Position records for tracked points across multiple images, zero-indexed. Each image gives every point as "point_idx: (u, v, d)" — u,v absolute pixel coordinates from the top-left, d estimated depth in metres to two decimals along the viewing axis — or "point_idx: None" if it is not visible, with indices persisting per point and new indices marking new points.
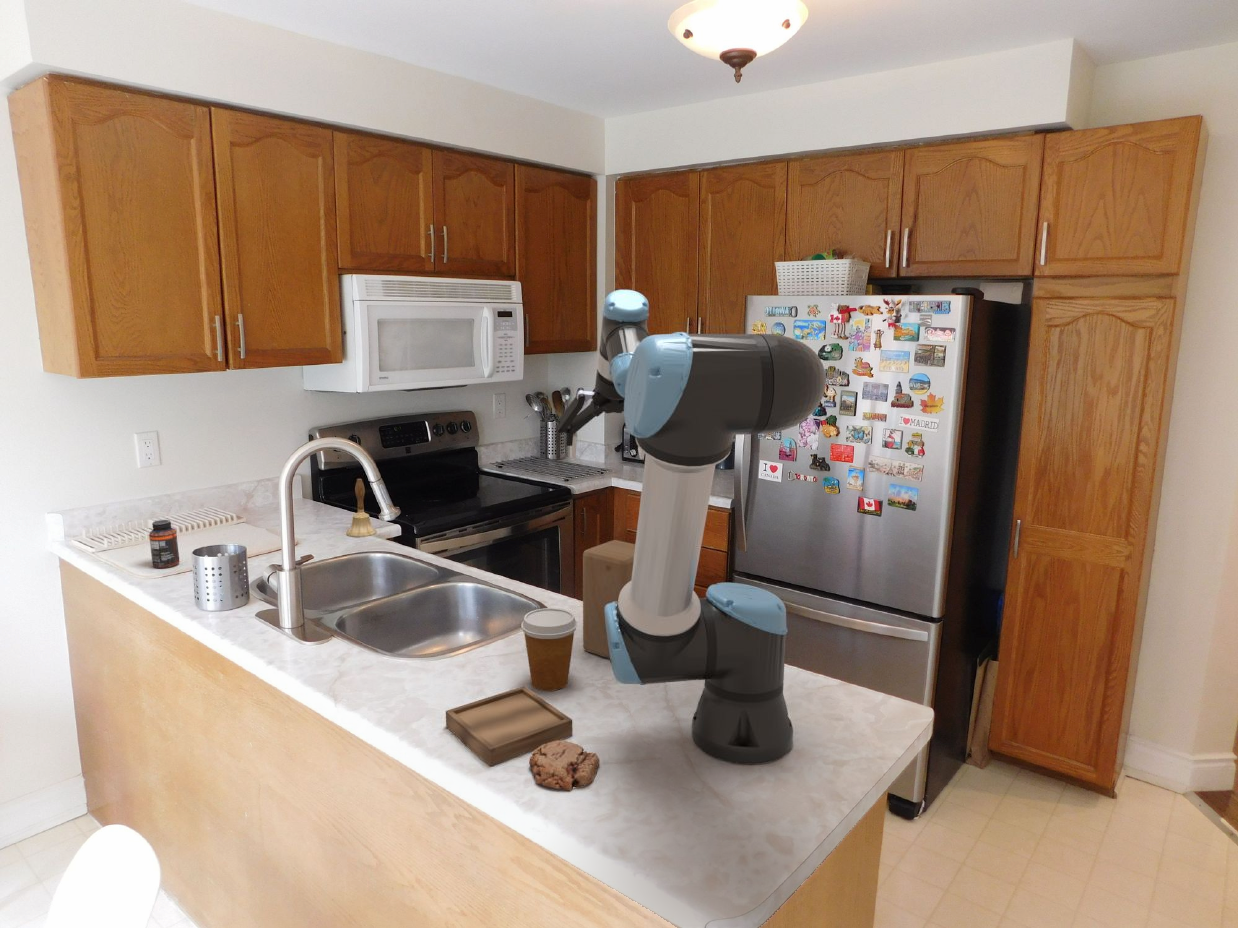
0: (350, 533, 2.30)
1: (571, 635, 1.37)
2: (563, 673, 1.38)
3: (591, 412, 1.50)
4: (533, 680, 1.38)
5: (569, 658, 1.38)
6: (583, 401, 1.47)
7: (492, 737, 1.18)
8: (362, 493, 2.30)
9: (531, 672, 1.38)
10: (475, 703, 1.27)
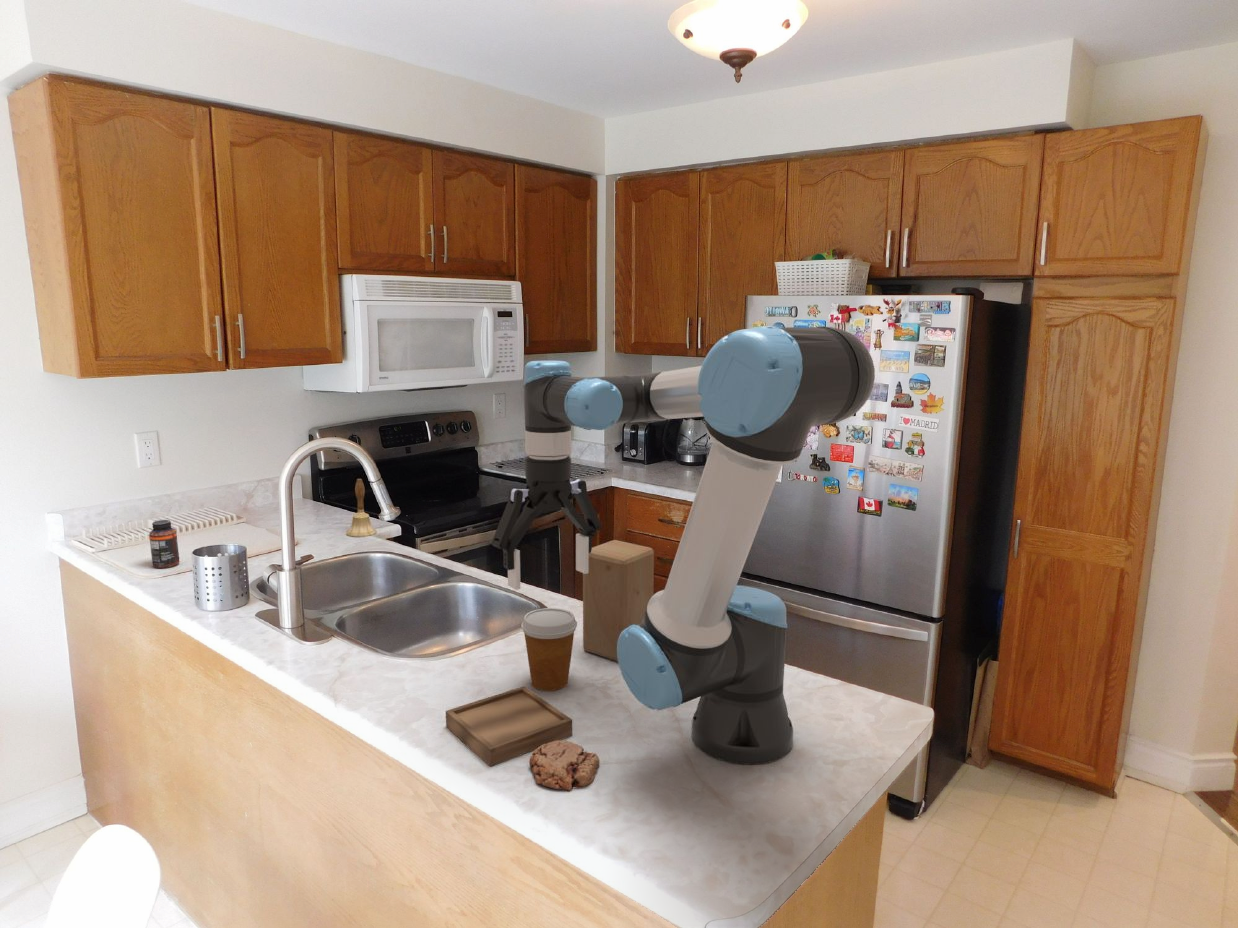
0: (350, 533, 2.30)
1: (571, 635, 1.37)
2: (563, 673, 1.38)
3: (530, 513, 1.31)
4: (533, 680, 1.38)
5: (569, 658, 1.38)
6: (521, 497, 1.30)
7: (492, 737, 1.18)
8: (362, 493, 2.30)
9: (531, 672, 1.38)
10: (475, 703, 1.27)
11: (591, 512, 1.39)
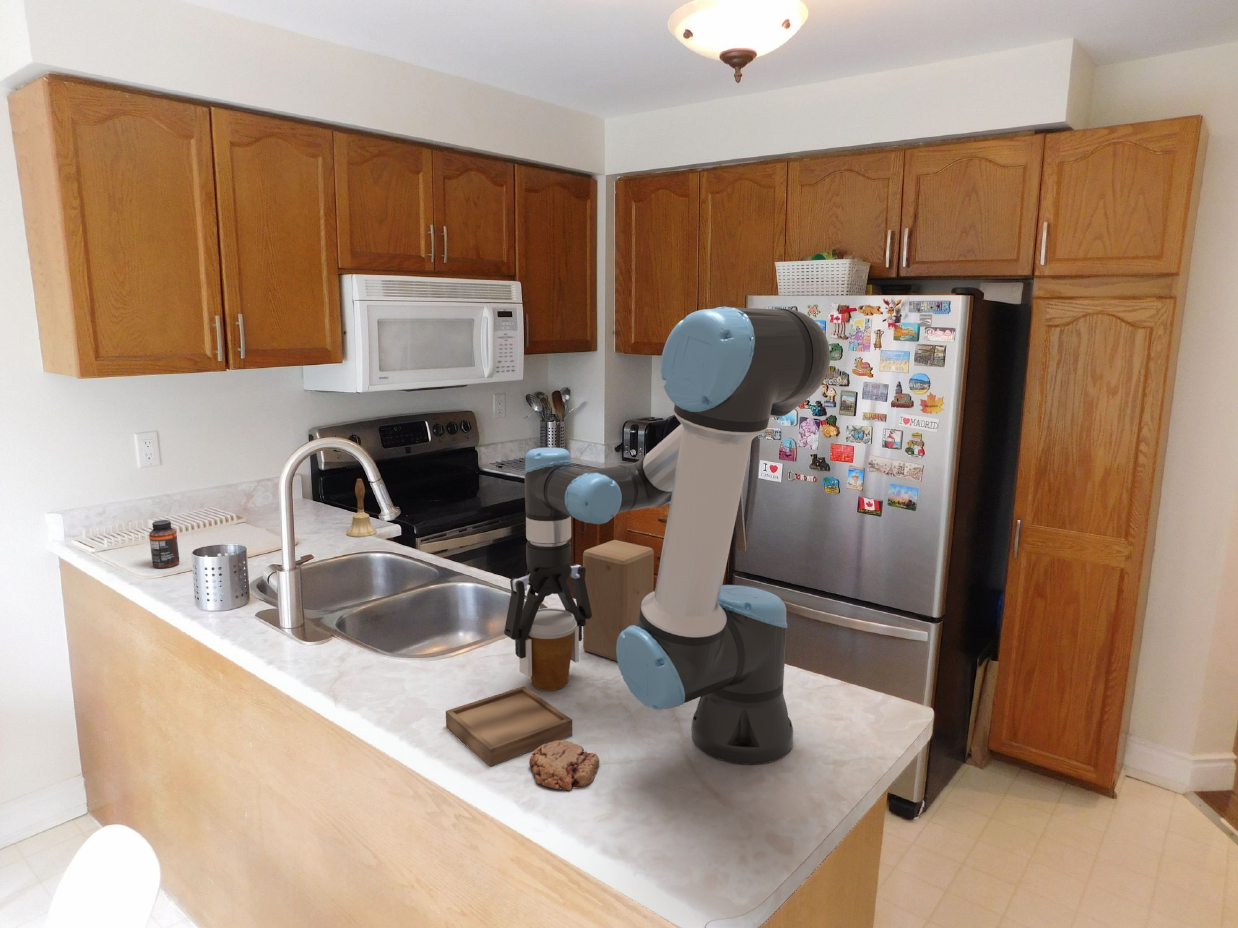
0: (350, 533, 2.30)
1: (571, 635, 1.37)
2: (563, 672, 1.38)
3: (535, 600, 1.34)
4: (533, 680, 1.38)
5: (569, 658, 1.38)
6: (523, 587, 1.33)
7: (492, 737, 1.18)
8: (362, 493, 2.30)
9: None
10: (475, 703, 1.27)
11: (585, 599, 1.41)
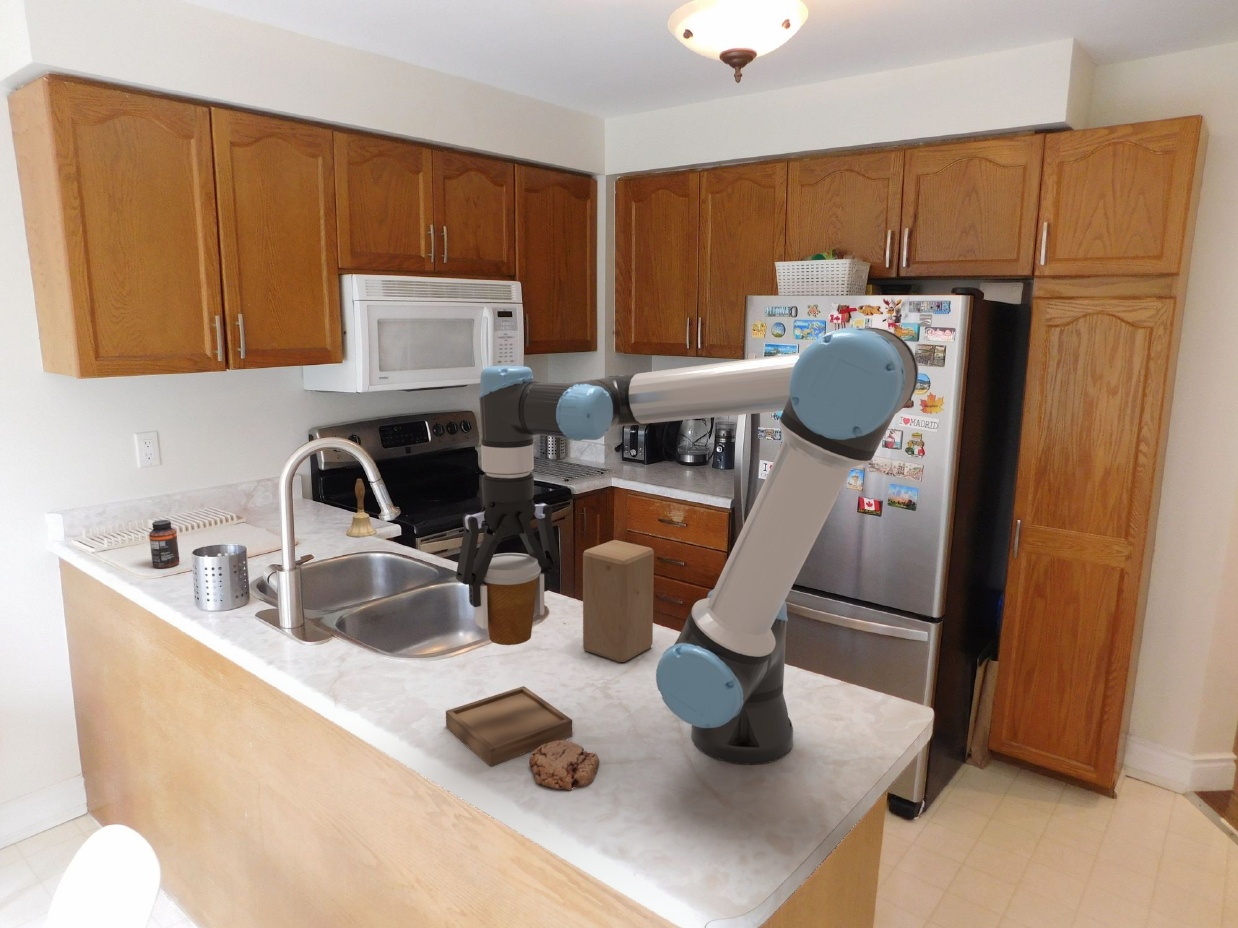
0: (350, 533, 2.30)
1: (533, 582, 1.20)
2: (524, 625, 1.20)
3: (491, 540, 1.17)
4: (490, 633, 1.21)
5: (531, 609, 1.21)
6: (476, 524, 1.15)
7: (492, 737, 1.18)
8: (362, 493, 2.30)
9: (488, 624, 1.21)
10: (475, 703, 1.27)
11: (551, 543, 1.23)
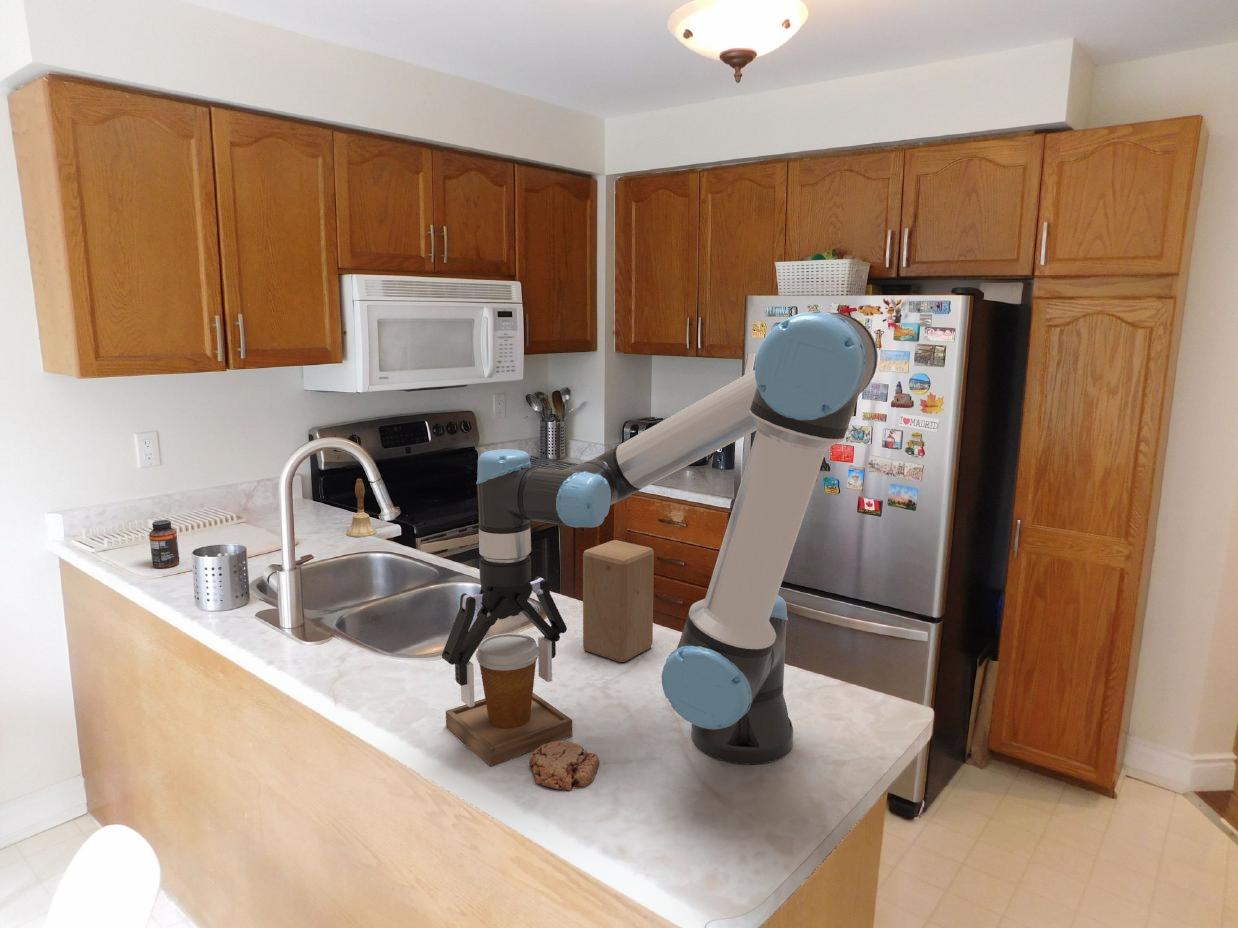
0: (350, 533, 2.30)
1: (532, 665, 1.21)
2: (524, 708, 1.21)
3: (485, 621, 1.17)
4: (490, 716, 1.22)
5: (530, 691, 1.22)
6: (474, 605, 1.16)
7: (492, 737, 1.18)
8: (362, 493, 2.30)
9: (487, 707, 1.22)
10: (475, 703, 1.27)
11: (555, 614, 1.25)
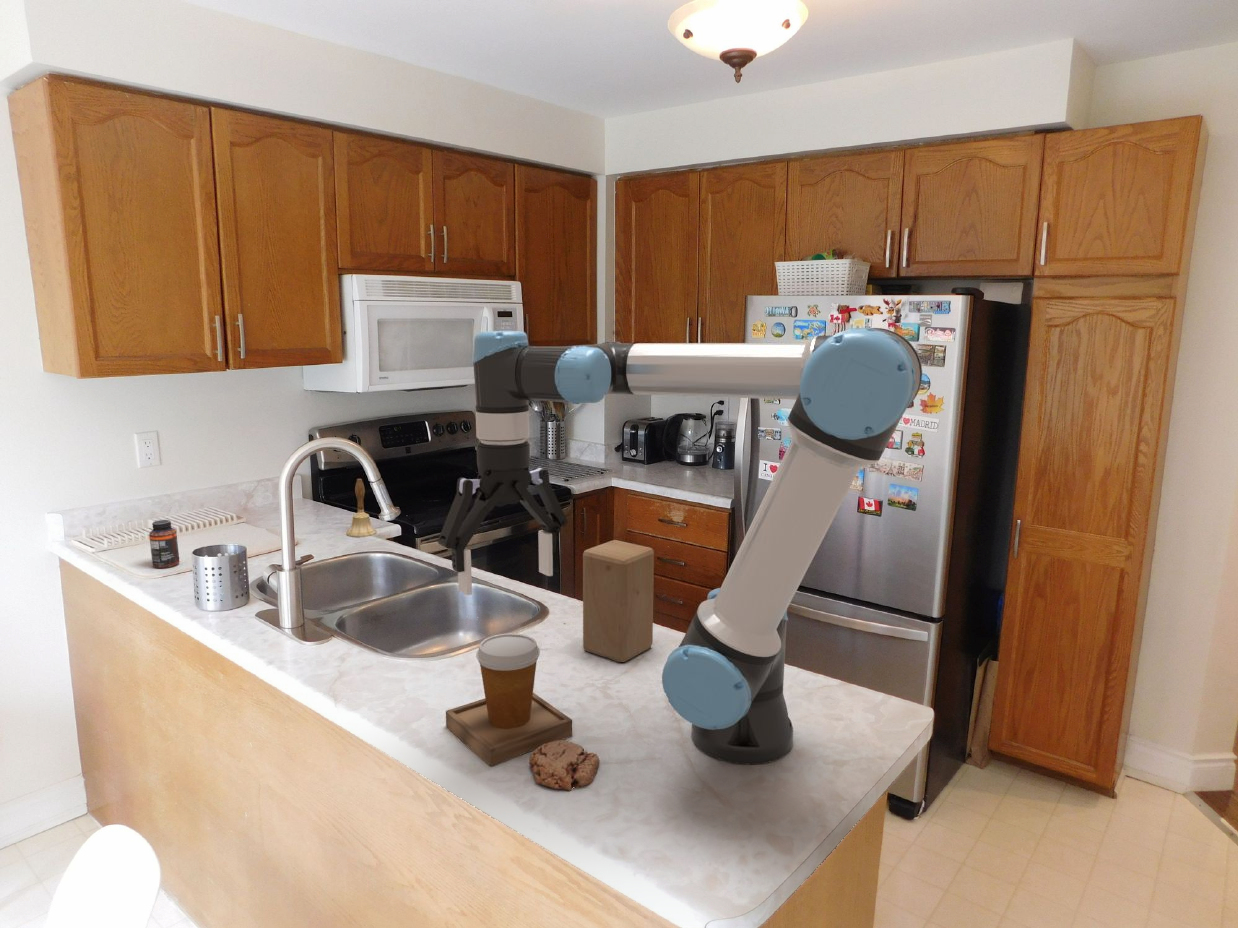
0: (350, 533, 2.30)
1: (533, 665, 1.21)
2: (524, 708, 1.21)
3: (482, 506, 1.14)
4: (490, 716, 1.22)
5: (531, 691, 1.22)
6: (471, 488, 1.12)
7: (492, 737, 1.18)
8: (362, 493, 2.30)
9: (488, 707, 1.22)
10: (475, 703, 1.27)
11: (555, 505, 1.22)
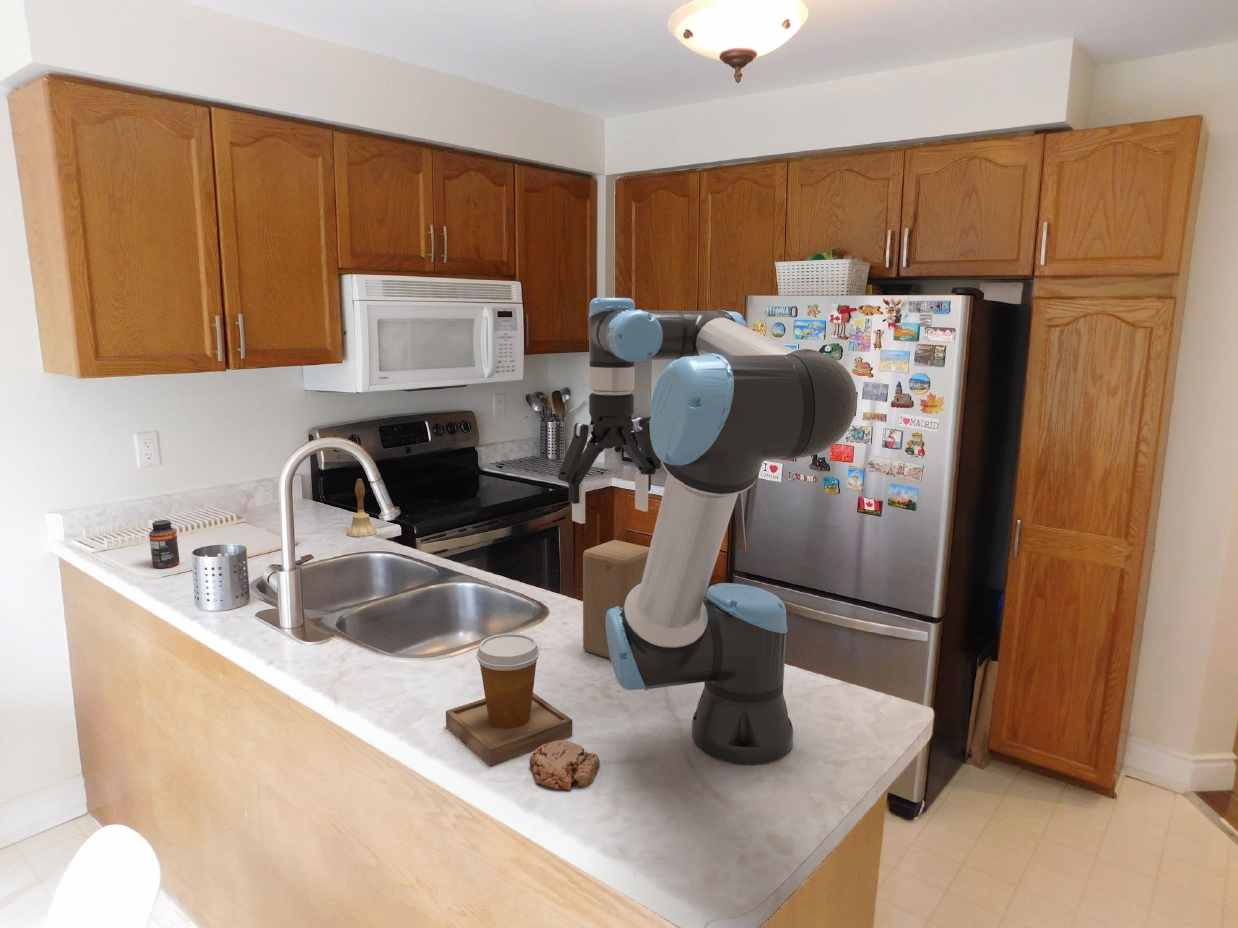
0: (350, 533, 2.30)
1: (532, 665, 1.21)
2: (524, 708, 1.21)
3: (595, 448, 1.34)
4: (490, 716, 1.22)
5: (531, 691, 1.22)
6: (587, 432, 1.32)
7: (492, 737, 1.18)
8: (362, 493, 2.30)
9: (488, 707, 1.22)
10: (475, 703, 1.27)
11: (651, 450, 1.41)
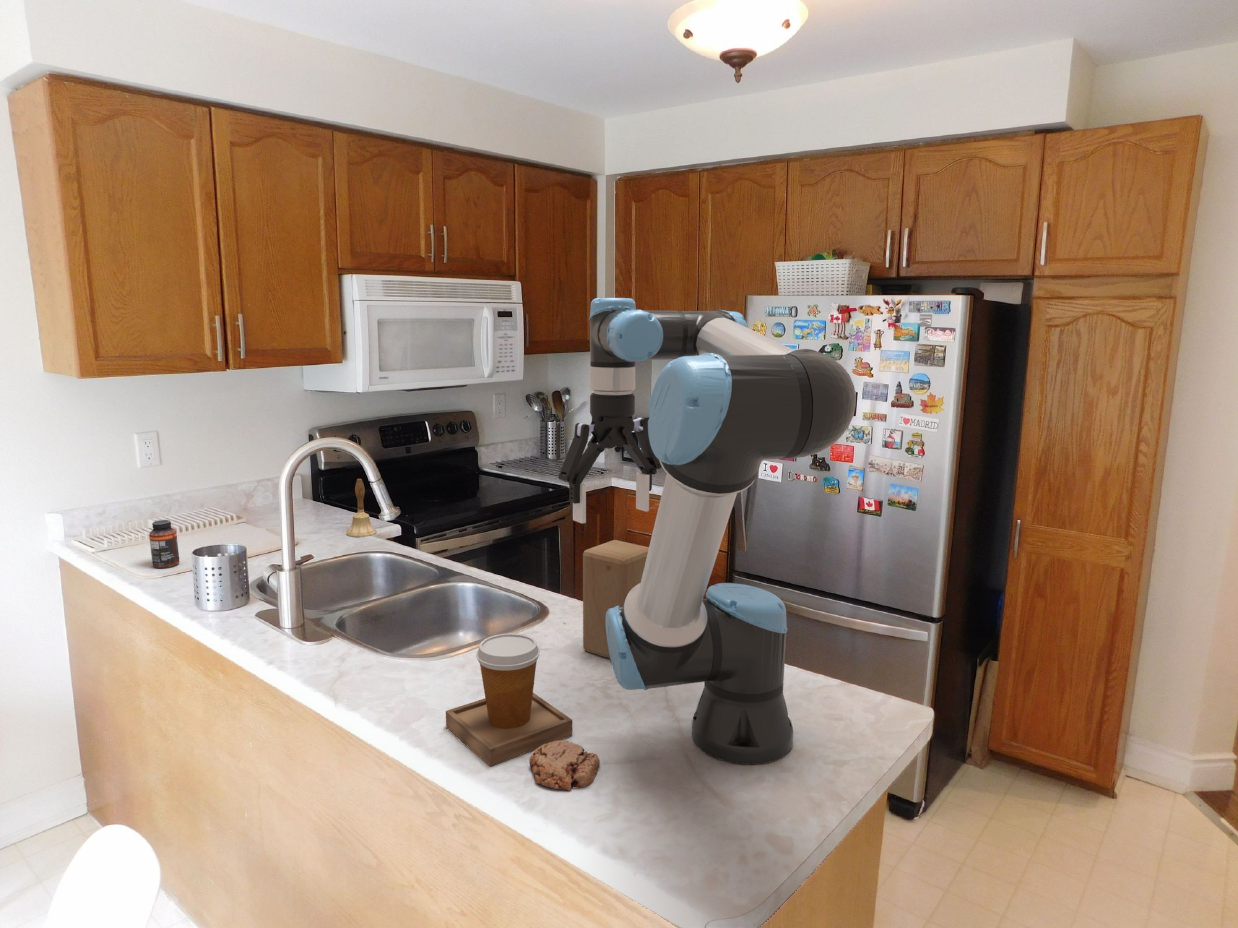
0: (350, 533, 2.30)
1: (533, 665, 1.21)
2: (524, 708, 1.21)
3: (596, 447, 1.34)
4: (490, 716, 1.22)
5: (531, 691, 1.22)
6: (588, 432, 1.32)
7: (492, 737, 1.18)
8: (362, 493, 2.30)
9: (488, 707, 1.22)
10: (475, 703, 1.27)
11: (652, 450, 1.41)
